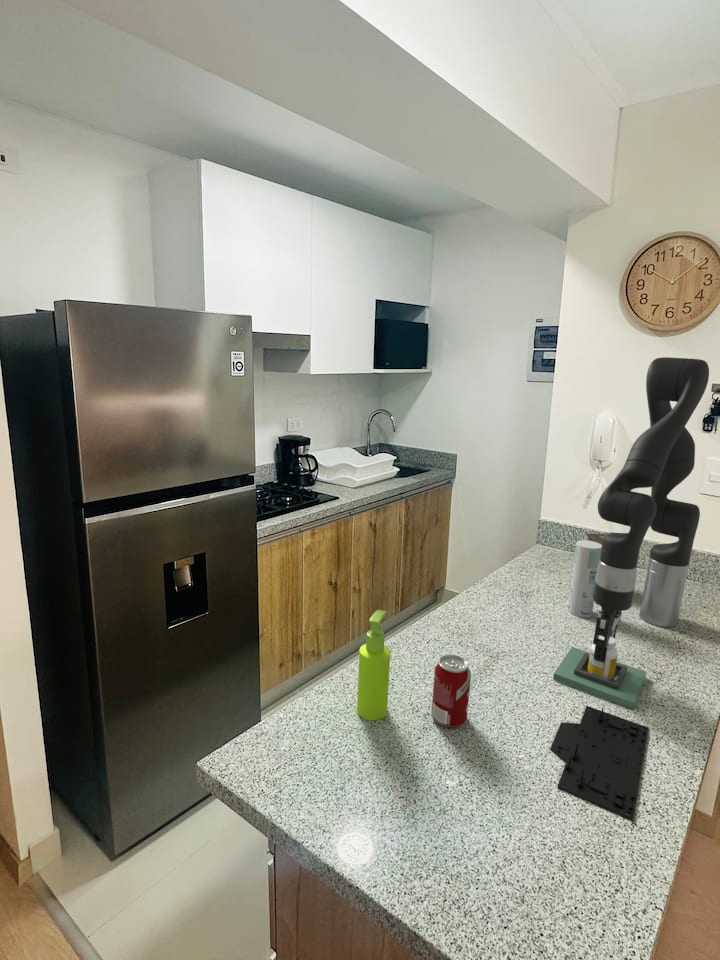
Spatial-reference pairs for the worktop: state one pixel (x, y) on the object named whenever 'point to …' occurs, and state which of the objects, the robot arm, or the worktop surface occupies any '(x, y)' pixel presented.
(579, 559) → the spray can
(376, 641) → the soap dispenser
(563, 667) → the socket board
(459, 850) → the worktop surface
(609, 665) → the supplement bottle
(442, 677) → the soda can
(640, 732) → the circuit board
